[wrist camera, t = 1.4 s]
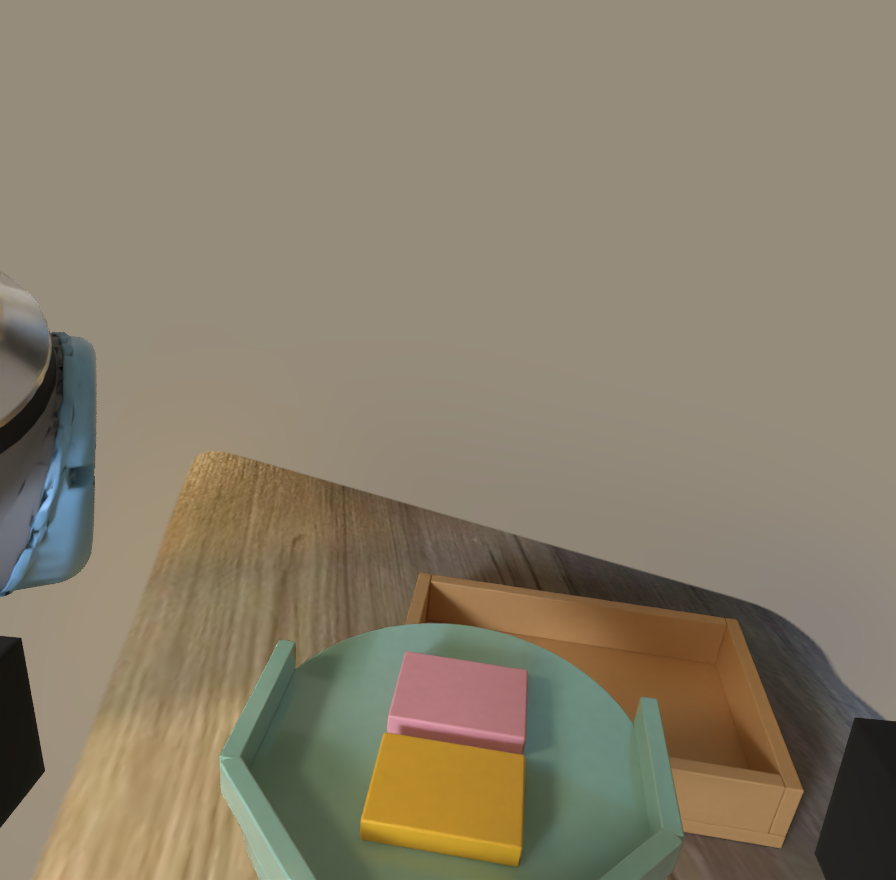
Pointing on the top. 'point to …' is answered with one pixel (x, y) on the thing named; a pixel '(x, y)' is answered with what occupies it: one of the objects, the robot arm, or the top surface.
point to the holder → (656, 692)
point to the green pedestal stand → (358, 742)
